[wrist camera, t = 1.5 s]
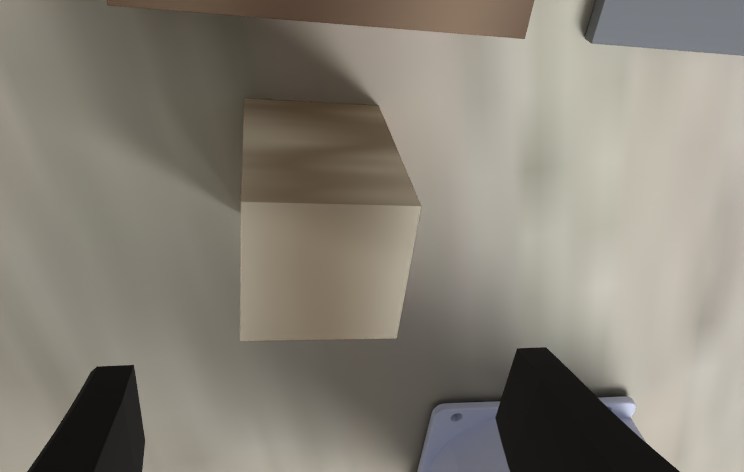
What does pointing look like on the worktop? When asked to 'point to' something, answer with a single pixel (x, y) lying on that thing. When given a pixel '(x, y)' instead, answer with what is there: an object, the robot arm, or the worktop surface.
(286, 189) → the maple block
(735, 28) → the card
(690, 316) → the worktop surface
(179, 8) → the walnut block
